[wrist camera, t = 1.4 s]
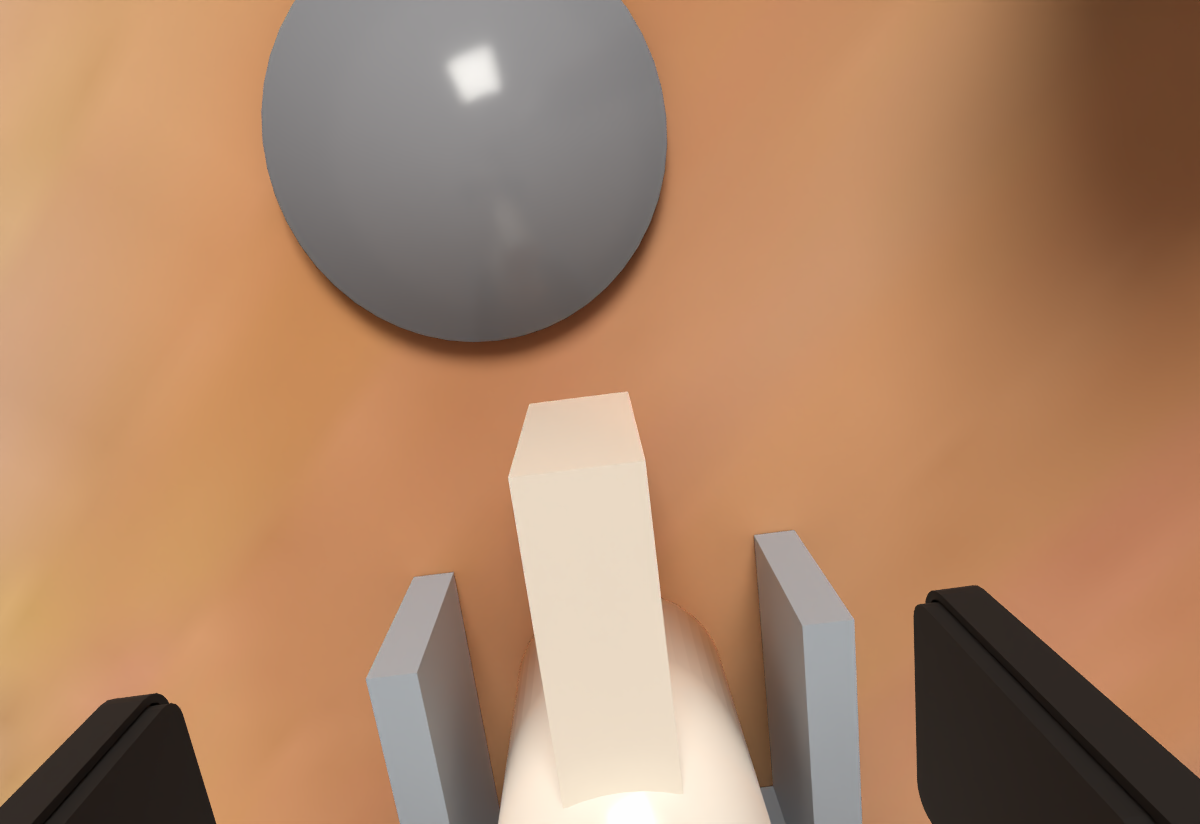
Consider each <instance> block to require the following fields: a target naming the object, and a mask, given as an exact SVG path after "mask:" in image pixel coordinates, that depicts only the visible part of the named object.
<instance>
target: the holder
mask: <svg viewBox="0 0 1200 824" xmlns="http://www.w3.org/2000/svg"><path fill="white" fill-rule="evenodd" d="M754 541H755V555H756V568H757V581H758V594H759V607H760V621H761V634H762V647H763V660H764V673H765V686H766V700H767V713H768V726H769V739H770V752H771V765H772V779H773V786H770V787H761V788H760V789H761V793H762V796H763V799H764V802H765V806H766V809H767V812H768V815H769V819H770V822H771V824H862V809H861V783H860V757H859V732H858V706H857V680H856V654H855V628H854V618H853V617H852V616H851V614H850V613H849V611H848V610H847V608H846V607H845V605H844V604H843V602H842V601H841V599H840V598H839V596H838V595H837V593H836V592H835V590H834V589H833V587H832V586H831V584H830V583H829V581H828V580H827V578H826V577H825V575H824V574H823V572H822V571H821V569H820V568H819V566H818V565H817V563H816V562H815V560H814V559H813V557H812V556H811V554H810V553H809V551H808V550H807V548H806V547H805V545H804V544H803V542H802V541H801V539H800V538H799V536H798V535H797V533H796V532H795V530H791V531H783V532H775V533H767V534H759V535H754ZM366 682H367V686H368V690H369V695H370V699H371V703H372V707H373V711H374V716H375V720H376V724H377V728H378V732H379V737H380V741H381V745H382V749H383V753H384V758H385V762H386V766H387V770H388V774H389V779H390V783H391V787H392V791H393V796H394V800H395V804H396V808H397V812H398V817H399V821H400V824H498V820H499V813H500V809H499V804H498V799H497V794H496V789H495V783H494V778H493V773H492V768H491V763H490V758H489V752H488V747H487V742H486V737H485V732H484V727H483V721H482V716H481V711H480V706H479V701H478V696H477V690H476V685H475V680H474V675H473V670H472V665H471V659H470V654H469V649H468V644H467V639H466V634H465V629H464V623H463V618H462V613H461V608H460V603H459V598H458V592H457V587H456V582H455V577H454V572H451V573H443V574H435V575H427V576H419V577H414V578H413V580H412V582H411V584H410V586H409V588H408V590H407V593H406V595H405V597H404V599H403V601H402V603H401V605H400V607H399V610H398V612H397V614H396V616H395V618H394V620H393V622H392V624H391V627H390V629H389V631H388V633H387V635H386V637H385V639H384V642H383V644H382V646H381V648H380V650H379V652H378V654H377V656H376V659H375V661H374V663H373V665H372V667H371V669H370V671H369V673H368V676H367V678H366Z"/></svg>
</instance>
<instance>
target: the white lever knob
mask: <svg viewBox="0 0 1200 824" xmlns="http://www.w3.org/2000/svg"><path fill="white" fill-rule="evenodd" d="M508 480H509V486H510V492H511V498H512V504H513V510H514V516H515V522H516V528H517V534H518V540H519V546H520V552H521V558H522V564H523V570H524V576H525V582H526V588H527V594H528V600H529V606H530V612H531V618H532V624H533V630H534V636H533V638H532V639H531V641H530V643H529V645H528V646H527V648H526V650H525V653H524V656H523V659H522V662H521V667H520V671H519V678H518V685H517V692H516V699H515V706H514V714H513V721H512V728H511V735H510V742H509V749H508V756H507V763H506V770H505V777H504V785H503V792H502V799H501V806H500V813H499V820H498V824H771V822H770V819H769V815H768V812H767V809H766V806H765V802H764V799H763V796H762V793H761V789H760V786H759V783H758V780H757V777H756V773H755V770H754V767H753V764H752V760H751V757H750V754H749V751H748V747H747V744H746V741H745V738H744V734H743V731H742V728H741V725H740V721H739V718H738V715H737V712H736V708H735V705H734V702H733V699H732V695H731V692H730V689H729V686H728V682H727V679H726V676H725V673H724V670H723V666H722V663H721V660H720V657H719V654H718V651H717V648H716V646H715V644H714V642H713V640H712V638H711V637H710V635H709V634H708V632H707V631H706V629H705V628H704V627H703V626H702V625H701V624H700V623H699V622H698V621H697V619H696V618H694V617H693V616H692V615H691V614H689V613H688V612H687V611H686V610H684V609H682V608H681V607H679V606H677V605H676V604H674V603H672V602H669V601H667V600H665V599H663V598H661V593H660V584H659V576H658V567H657V558H656V549H655V541H654V532H653V523H652V514H651V506H650V497H649V488H648V479H647V471H646V462H645V457H644V453H643V449H642V445H641V441H640V437H639V433H638V429H637V425H636V422H635V418H634V414H633V410H632V406H631V402H630V398H629V394H628V391H627V392H620V393H612V394H604V395H596V396H588V397H580V398H572V399H564V400H556V401H548V402H540V403H532V404H529V407H528V410H527V414H526V417H525V421H524V424H523V428H522V431H521V435H520V438H519V442H518V445H517V449H516V452H515V456H514V459H513V463H512V466H511V469H510V473H509V476H508Z"/></svg>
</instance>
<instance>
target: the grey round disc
mask: <svg viewBox="0 0 1200 824" xmlns="http://www.w3.org/2000/svg"><path fill="white" fill-rule="evenodd" d="M261 113H262V137H263V146H264V152H265V158H266V164H267V169H268V172H269V176H270V179H271V183H272V186H273V189H274V193H275V196H276V198H277V201H278V203H279V205H280V208H281V210H282V212H283V215H284V217H285V219H286V221H287V223H288V225H289V227H290V228H291V230H292V232H293V233H294V235H295V237H296V239H297V240H298V242H299V244H300V245H301V247H302V248H303V249H304V251H305V252H306V253H307V255H308V256H309V257H310V259H311V260H312V261H313V263H314V264H315V265H316V267H317V268H318V269H319V270H320V271H321V272H322V273H323V274H324V275H325V276H326V277H327V278H328V279H329V280H330V281H331V282H332V283H333V284H334V285H335V286H336V287H337V288H338V289H339V290H341V291H342V292H343V293H344V294H345V295H347V296H348V297H349V298H350V299H352V300H353V301H354V302H355V303H357V304H358V305H360V306H361V307H363V308H365V309H366V310H368V311H369V312H371V313H372V314H374V315H376V316H377V317H379V318H381V319H383V320H386V321H388V322H390V323H392V324H394V325H396V326H398V327H400V328H403V329H406V330H409V331H412V332H415V333H418V334H421V335H424V336H429V337H434V338H439V339H444V340H451V341H465V342H482V341H498V340H503V339H509V338H514V337H519V336H523V335H526V334H529V333H532V332H535V331H538V330H541V329H544V328H547V327H549V326H551V325H553V324H555V323H557V322H559V321H561V320H563V319H565V318H567V317H569V316H570V315H572V314H573V313H575V312H576V311H578V310H579V309H581V308H582V307H584V306H585V305H587V304H588V303H589V302H591V301H592V300H593V299H594V298H595V297H596V296H597V295H599V294H600V293H601V292H602V291H603V290H604V289H605V288H607V287H608V285H609V284H610V283H611V282H612V281H613V280H614V279H615V277H616V276H617V275H618V274H619V273H620V272H621V271H622V270H623V268H624V267H625V266H626V264H627V263H628V261H629V260H630V258H631V257H632V255H633V254H634V252H635V251H636V249H637V248H638V246H639V244H640V242H641V240H642V238H643V236H644V234H645V232H646V230H647V228H648V226H649V224H650V222H651V219H652V216H653V213H654V210H655V208H656V205H657V202H658V199H659V195H660V190H661V186H662V181H663V176H664V172H665V161H666V150H667V130H666V113H665V107H664V100H663V94H662V88H661V84H660V81H659V77H658V74H657V70H656V67H655V63H654V60H653V58H652V56H651V53H650V51H649V49H648V46H647V44H646V41H645V39H644V37H643V34H642V33H641V31H640V29H639V28H638V26H637V24H636V22H635V21H634V19H633V17H632V16H631V14H630V12H629V10H628V9H627V7H626V6H625V5H624V4H623V2H622V1H621V0H295V2H294V3H293V5H292V6H291V8H290V10H289V12H288V14H287V16H286V18H285V20H284V22H283V24H282V26H281V27H280V29H279V32H278V35H277V38H276V40H275V43H274V46H273V49H272V52H271V54H270V58H269V62H268V67H267V72H266V76H265V81H264V88H263V100H262V112H261Z"/></svg>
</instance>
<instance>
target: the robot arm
mask: <svg viewBox="0 0 1200 824" xmlns="http://www.w3.org/2000/svg"><path fill="white" fill-rule="evenodd" d="M914 655H915V700H916V746H917V783H918V790H919V795H920V798H921V802H922V805H923V807H924V810H925V812H926V814H927V816H928V818H929V819H930V821H931V823H932V824H1200V779H1199V778H1198V777H1197V776H1196V775H1195V774H1194V773H1193V772H1191V771H1190V770H1189V769H1188V768H1187V767H1186V766H1185V765H1183V764H1182V763H1181V762H1180V761H1179V760H1178V759H1177V758H1175V757H1174V756H1173V755H1172V754H1171V753H1170V752H1169V751H1167V750H1166V749H1165V748H1164V747H1163V746H1162V745H1161V744H1159V743H1158V742H1157V741H1156V740H1155V739H1154V738H1153V737H1151V736H1150V735H1149V734H1148V733H1147V732H1146V731H1145V730H1143V729H1142V728H1141V727H1140V726H1139V725H1138V724H1137V723H1135V722H1134V721H1133V720H1132V719H1131V718H1130V717H1129V716H1128V715H1126V714H1125V713H1124V712H1123V711H1122V710H1121V709H1120V708H1118V707H1117V706H1116V705H1115V704H1114V703H1113V702H1112V701H1110V700H1109V699H1108V698H1107V697H1106V696H1105V695H1104V694H1102V693H1101V692H1100V691H1099V690H1098V689H1097V688H1096V687H1094V686H1093V685H1092V684H1091V683H1090V682H1089V681H1088V680H1086V679H1085V678H1084V677H1083V676H1082V675H1081V674H1080V673H1078V672H1077V671H1076V670H1075V669H1074V668H1073V667H1072V666H1070V665H1069V664H1068V663H1067V662H1066V661H1065V660H1064V659H1062V658H1061V657H1060V656H1059V655H1058V654H1057V653H1056V652H1055V651H1053V650H1052V649H1051V648H1050V647H1049V646H1048V645H1047V644H1045V643H1044V642H1043V641H1042V640H1041V639H1040V638H1039V637H1037V636H1036V635H1035V634H1034V633H1033V632H1032V631H1031V630H1029V629H1028V628H1027V627H1026V626H1025V625H1024V624H1023V623H1021V622H1020V621H1019V620H1018V619H1017V618H1016V617H1015V616H1013V615H1012V614H1011V613H1010V612H1009V611H1008V610H1007V609H1005V608H1004V607H1003V606H1002V605H1001V604H1000V603H999V602H997V601H996V600H995V599H994V598H993V597H992V596H991V595H990V594H988V593H987V592H986V591H985V590H984V589H982V588H981V587H979V586H974V585H972V586H965V587H957V588H950V589H942V590H935V591H931V592H929V593H928V595H927V598H926V604H919V605H917V606H916V607H915V610H914ZM0 824H216V822H215V818H214V815H213V812H212V808H211V805H210V802H209V799H208V795H207V792H206V789H205V786H204V782H203V779H202V776H201V772H200V769H199V766H198V763H197V759H196V756H195V753H194V749H193V746H192V743H191V740H190V736H189V733H188V730H187V727H186V723H185V720H184V717H183V714H182V711H181V709H180V708H179V707H178V706H177V705H176V704H173V703H170V704H169V702H168V700H167V699H166V698H165V697H164V696H163V695H160V694H157V693H155V694H147V695H140V696H132V697H125V698H117V699H112V700H108V701H106V702H105V703H103V704H102V705H101V706H100V707H99V708H98V709H97V710H96V711H95V712H94V713H93V714H92V715H91V716H90V717H89V718H88V719H87V720H86V721H85V722H84V723H83V724H82V725H81V726H80V727H79V728H78V729H77V730H76V731H75V732H74V733H73V734H72V735H71V736H70V737H69V738H68V739H67V740H66V741H65V742H64V743H63V744H62V745H61V746H60V747H59V748H58V749H57V750H56V751H55V752H54V753H53V754H52V755H51V756H50V757H49V758H48V759H47V760H46V761H45V762H44V763H43V764H42V765H41V766H40V767H39V768H38V770H37V771H36V772H35V773H34V774H33V775H32V776H31V777H30V778H29V779H28V780H27V781H26V782H25V783H24V784H23V785H22V786H21V787H20V788H19V789H18V790H17V791H16V792H15V793H14V794H13V795H12V796H11V797H10V798H9V799H8V800H7V801H6V802H5V803H4V804H3V805H2V806H1V807H0Z"/></svg>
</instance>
